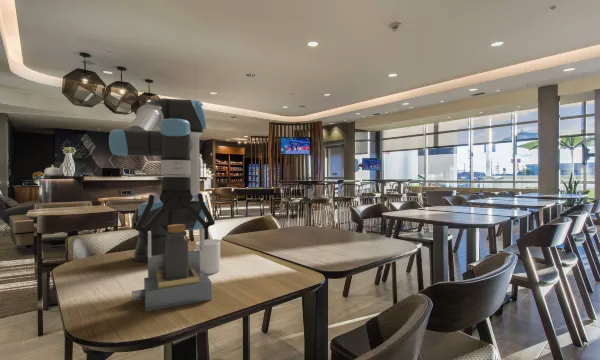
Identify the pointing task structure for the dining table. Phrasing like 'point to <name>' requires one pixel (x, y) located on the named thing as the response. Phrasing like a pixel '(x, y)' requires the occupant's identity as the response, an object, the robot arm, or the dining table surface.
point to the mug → (209, 256)
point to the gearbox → (173, 285)
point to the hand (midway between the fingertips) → (176, 253)
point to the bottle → (176, 252)
